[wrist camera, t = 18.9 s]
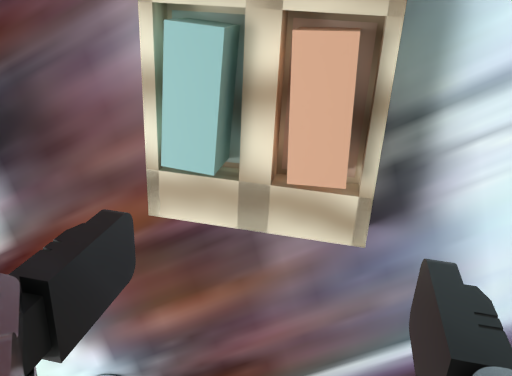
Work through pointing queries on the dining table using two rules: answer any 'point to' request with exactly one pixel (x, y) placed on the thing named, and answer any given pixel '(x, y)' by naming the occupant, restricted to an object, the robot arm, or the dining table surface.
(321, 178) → the block
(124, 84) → the dining table surface
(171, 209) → the slot rack
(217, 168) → the batten teal
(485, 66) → the dining table surface
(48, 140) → the dining table surface
